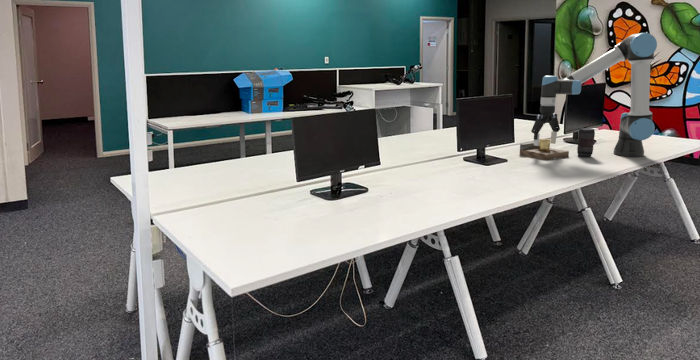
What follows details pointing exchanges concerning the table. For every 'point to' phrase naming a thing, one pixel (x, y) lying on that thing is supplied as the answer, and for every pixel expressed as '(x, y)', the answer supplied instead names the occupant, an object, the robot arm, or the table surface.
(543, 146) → the brass sleeve
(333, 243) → the table surface
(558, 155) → the plate
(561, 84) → the robot arm
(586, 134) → the camera lens
